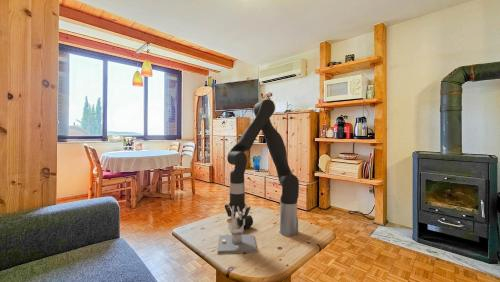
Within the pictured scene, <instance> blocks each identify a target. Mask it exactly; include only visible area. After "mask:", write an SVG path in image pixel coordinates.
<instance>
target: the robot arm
mask: <svg viewBox="0 0 500 282" xmlns="http://www.w3.org/2000/svg"><path fill="white" fill-rule="evenodd" d="M275 105H276V104H275V103H274V101H272V99H269V98H266V99H262V100H261V101H258V102H256V103H255V104H254V106H253V114H254V116H255V118H254V119H253V120H252V122H250V124H249V125H248V126H247V127H246V128H245V130H244V132H243V133H242V134H241V136H240V138H239V140H238V142H237V143H236V144H234V146H233V147H232V148H231V149H230V150H229V152H228V154H227V157H226V159H227V162H228V164H230V165H232V166H234V169H233V170H231V171H230V172H229V202H228V203H226V204H225V205H224V208H225V212H226V215H227V217H228V218H233V217H236V214H237V216H239V218H240V219H239V227H241V226H242V225H243V219H245V218H246V217H247V216H249V213H250V210H251V206H248V205H246V185H245V172H246V169H247V164H248V156H247V153H245V152H247V151H249V150H251V148H252V146H253V144H254V143H255V141H256V140H257V137H258V135H259V134H260V132H262V134H263V135H262V136H263V138H264V139H265V143H266V147H267V148H268V152H269V155H270V156H271V160H272V162H273V164H274V166H275V169H276V173H277V177H278V178H277V179H278V182H279V184H280V186H281V196H280V199H279V200H280V207H279V208H280V209H279V213H280V214H279V216H280V217H279V218H280V220H279V222H280V223H279V226H280V227H279V232H280V234H281V235H283V236H285V237H286V236H287V237H294V236H297V235H299V216H298V200H299V196H300V195H299V193H300V182H299V178H298V176H296V175H295V174H293V172H292V171H291V168H290V166H289V162H288V156H287V155H288V154H287V153H288V152H287V149H286V145H285V142H284V139H283V137H282V136H281V134H280V133H279V132H278V130H276V128H275V127H274V125H273V124H272V122H271V117H272V116H273V114H274V113H275V111H276V106H275ZM244 211H245V212H244ZM243 215H244V216H243Z"/></svg>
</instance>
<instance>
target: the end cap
mask: <svg viewBox="0 0 500 282" xmlns="http://www.w3.org/2000/svg"><path fill="white" fill-rule="evenodd" d="M253 224H254V219H253V217H252V216H251V215H250V214H248V215H247V217H246V218H245V225H243V226H244V229H247V228H250V227H252V226H253Z"/></svg>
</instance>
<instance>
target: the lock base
mask: <svg viewBox="0 0 500 282" xmlns="http://www.w3.org/2000/svg"><path fill="white" fill-rule="evenodd" d="M257 250H258V249H257V245H256V241H255V235H254V233H250V234H249V233H248V234H244V233H242V234H239V235H234V234H219V237H218V245H217V254H219V255H220V254H235V253H236V254H239V253H257V252H258V251H257Z"/></svg>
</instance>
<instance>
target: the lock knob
mask: <svg viewBox="0 0 500 282" xmlns="http://www.w3.org/2000/svg"><path fill="white" fill-rule="evenodd" d="M243 216H244V214H243ZM239 219H240V218H239V215H237V216H235V217H233V218H231V217H229V218H227V219H226V222H227V224H228V226H227V227H228V230H229V234H230V235H232V234H234V235H239V234H242V235H243V234H244V232H245V228H244V226H243V225H245V219H243V225H242V226H241V227H239Z"/></svg>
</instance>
